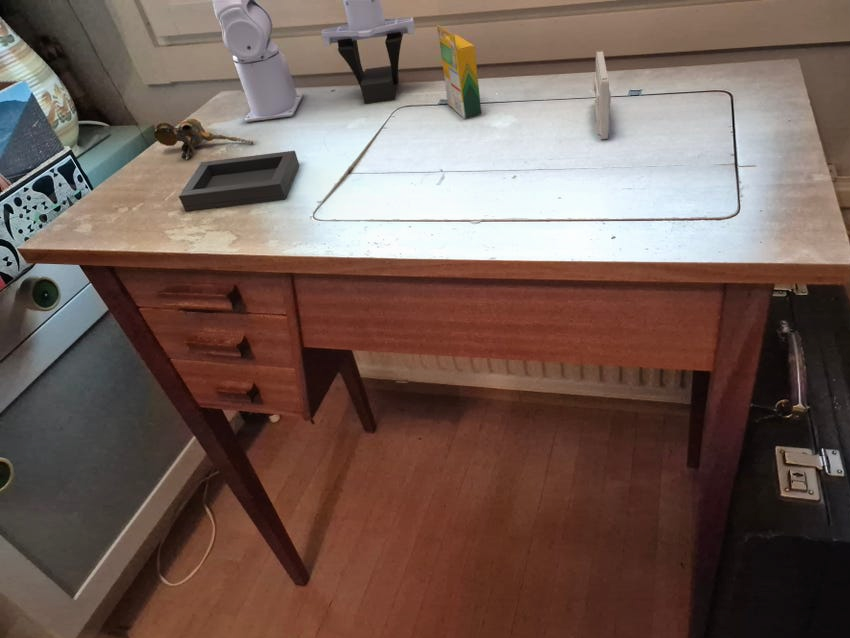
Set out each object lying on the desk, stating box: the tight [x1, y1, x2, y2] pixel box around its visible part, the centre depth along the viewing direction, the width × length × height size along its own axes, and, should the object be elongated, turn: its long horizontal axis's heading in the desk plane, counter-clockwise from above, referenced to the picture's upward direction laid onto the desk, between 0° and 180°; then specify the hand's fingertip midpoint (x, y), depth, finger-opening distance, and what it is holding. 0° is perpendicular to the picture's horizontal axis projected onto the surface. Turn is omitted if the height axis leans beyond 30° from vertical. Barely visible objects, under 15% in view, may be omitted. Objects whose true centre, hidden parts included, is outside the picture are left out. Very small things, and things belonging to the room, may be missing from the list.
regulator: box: [153, 118, 254, 161], centre depth 100 cm, size 8×4×15 cm
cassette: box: [593, 49, 612, 140], centre depth 88 cm, size 12×2×8 cm, turn 176°
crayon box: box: [436, 24, 482, 120], centre depth 96 cm, size 7×3×12 cm, turn 23°
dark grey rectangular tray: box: [178, 150, 300, 212], centre depth 88 cm, size 10×13×2 cm
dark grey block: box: [359, 65, 399, 105], centre depth 109 cm, size 8×5×3 cm, turn 1°
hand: (379, 84), depth 109 cm, fingers closed on dark grey block, 5 cm apart
